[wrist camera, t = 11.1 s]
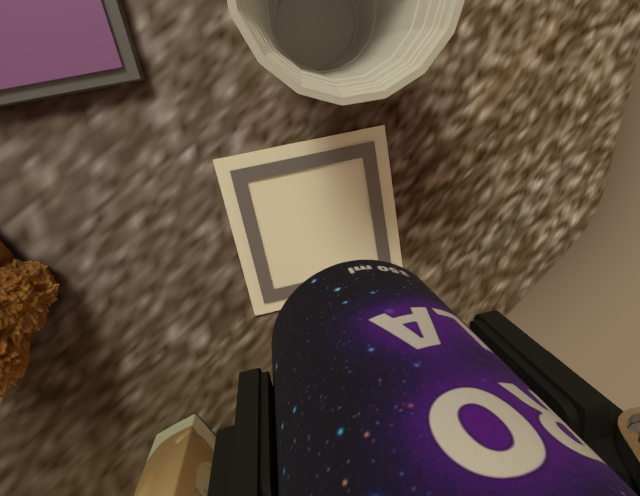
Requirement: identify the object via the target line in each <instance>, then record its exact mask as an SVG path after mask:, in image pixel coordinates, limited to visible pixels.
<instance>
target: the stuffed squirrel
mask: <svg viewBox="0 0 640 496" xmlns="http://www.w3.org/2000/svg"><path fill="white" fill-rule="evenodd" d="M47 267H48V266H45V265H43V264H41V263H40V262H38V261H33V260H31V261H24V262H22V261H21V260H19V259H17V260H16V259H14V257H13V254H12V253H11V251H10V250H9V249H8V248H7V247H6V246H5V245H4V244H3V243H2V241H1V240H0V406H1V405H2V400H3V396H4V395H5V391H6V388H9V389H10V387H11V386H12V385H13V386H17V385H16V381H18V379H20V378H22V377H23V376H25V375H24V372H25V371H26V370H27V367H28V362H29V352H30V341H29V340H28V339H29V338H30V336H31V335H32V334H33V332H37V331H39V330H40V328H41V327H43V325H44V324H45V323H46V321H47V317H46V316H47V314H48V312H49V310H48V307H49V306H51V304H52V303H53V302H55V301H56V300H58V299H56V298H57V297H56V296H57V295H58V294H57V292H58V286H59V283H58V284H56V281H55V279H54V275H53V274H51V273H50V272H49V270H48V269H47ZM17 378H18V379H17Z"/></svg>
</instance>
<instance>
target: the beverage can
mask: <svg viewBox="0 0 640 496" xmlns="http://www.w3.org/2000/svg"><path fill="white" fill-rule="evenodd" d="M272 370H273V396H274V422H275V448H276V474H277V496H638V495H637V494H636V493H635V492H634V491H633V490H632V489H631V488H630V487H629V486H628V485H627V484H626V483H625V482H624V481H623V480H622V479H621V478H620V477H619V476H618V475H617V474H616V473H615V472H614V471H613V470H612V469H611V468H610V467H609V466H608V465H607V464H606V463H605V462H604V461H603V460H602V459H601V458H600V457H599V456H598V455H597V454H596V453H595V452H594V451H593V450H592V449H591V448H590V447H589V446H588V445H587V444H586V443H585V442H584V441H583V440H582V439H581V438H579V437H578V436H577V435H576V434H575V433H574V432H573V431H572V430H571V429H570V428H569V427H568V426H567V425H566V424H565V423H564V422H563V421H562V420H561V419H560V418H559V417H558V416H557V415H556V414H555V413H554V412H553V411H552V410H551V409H550V408H549V407H548V406H547V405H546V404H545V403H544V402H543V401H542V400H541V399H540V398H539V397H538V396H537V395H536V394H535V393H534V392H533V391H532V390H531V389H530V388H529V387H528V386H527V385H526V384H525V383H524V382H523V381H522V380H521V379H520V378H519V377H518V376H517V375H516V374H515V373H514V372H513V371H512V370H511V369H510V368H509V367H508V366H507V365H506V364H505V363H504V362H503V361H502V360H501V359H500V358H499V357H498V356H497V355H496V354H495V353H494V352H493V351H492V350H491V349H490V348H489V347H488V346H487V345H486V344H485V343H484V342H483V341H482V340H481V339H480V338H479V337H478V336H477V335H476V334H475V333H474V332H473V331H472V330H471V329H470V328H469V327H468V326H467V325H466V324H465V323H464V322H463V321H462V320H461V319H460V318H459V317H458V316H457V315H456V314H455V313H454V312H453V311H452V310H451V309H450V308H449V307H448V306H447V305H446V304H445V303H444V302H443V301H442V300H441V299H440V298H439V297H438V296H437V295H436V294H435V293H434V292H432V291H431V290H430V289H429V288H428V287H427V286H426V285H425V284H424V283H423V282H422V281H421V280H420V279H419V278H418V277H417V276H416V275H414V274H413V273H411V272H410V271H408V270H406V269H404V268H402V267H400V266H398V265H395V264H392V263H388V262H384V261H379V260H353V261H347V262H343V263H339V264H336V265H333V266H330V267H328V268H326V269H323V270H321V271H320V272H318V273H316V274H314V275H313V276H311V277H310V278H308V279H307V280H306V281H304V282H303V283H302V284H301V285H300V286H299V287H298V288H297V289H296V290H295V291H294V292H293V293H292V294H291V295H290V296H289V298H288V299H287V300H286V302H285V303H284V305H283V307H282V308H281V310H280V312H279V314H278V317H277V319H276V322H275V325H274V329H273V334H272Z"/></svg>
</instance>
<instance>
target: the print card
mask: <svg viewBox="0 0 640 496" xmlns="http://www.w3.org/2000/svg"><path fill="white" fill-rule="evenodd" d="M213 163H214V166H215V170H216V174H217V177H218V181H219V185H220V188H221V192H222V196H223V199H224V203H225V207H226V210H227V214H228V218H229V221H230V225H231V229H232V232H233V236H234V240H235V243H236V247H237V251H238V254H239V258H240V262H241V265H242V269H243V273H244V276H245V280H246V284H247V287H248V291H249V295H250V299H251V302H252V306H253V310H254V313H255V316H257V315H261V314H265V313H270V312H274V311H278V310H281V308H282V307H283V305H284V303H285V302H286V300H287V299H288V298H289V296H290V295H291V294H292V293H293V292H294V291H295V290H296V289H297V288H298V287H299V286H300V285H301V284H302V283H303V282H304V281H306V280H307V279H308V278H310V277H311V276H313V275H314V274H316V273H318V272H320V271H321V270H323V269H326V268H328V267H330V266H333V265H336V264H339V263H343V262H347V261H353V260H379V261H384V262H388V263H392V264H395V265H398V266H400V267H402V268H403V265H402V257H401V249H400V242H399V234H398V226H397V218H396V210H395V203H394V195H393V187H392V179H391V171H390V163H389V156H388V148H387V140H386V132H385V125H381V126H376V127H371V128H366V129H361V130H356V131H351V132H346V133H341V134H337V135H332V136H327V137H322V138H317V139H312V140H307V141H302V142H297V143H292V144H288V145H283V146H278V147H273V148H268V149H263V150H258V151H253V152H248V153H243V154H238V155H234V156H229V157H224V158H219V159H214V160H213Z"/></svg>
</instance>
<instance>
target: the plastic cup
mask: <svg viewBox="0 0 640 496" xmlns="http://www.w3.org/2000/svg"><path fill="white" fill-rule="evenodd" d="M464 1H465V0H227V3H228V8H229V13H230V16H231V17H232V19H233V21H234V22H235V24H236V26H237V27H238V29H239V31H240V32H241V34H242V36H243V37H244V39H245V41H246V42H247V44H248V46H249V47H250V49H251V51H252V52H253V54H254V56H255V57H256V59H257V61H258V62H259V63H260V64H261V65H262V66H263V67H265V68H266V69H267V70H268V71H270V72H271V73H272V74H274V75H275V76H276V77H277V78H279V79H280V80H281V81H282V82H284V83H285V84H286V85H288V86H289V87H290V88H291V89H293V90H294V91H295V92H296V93H298V94H300V95H304V96H308V97H312V98H315V99H319V100H323V101H327V102H330V103H334V104H338V105H342V106H343V105H349V104H355V103H361V102H367V101H373V100H379V99H385V98H387V97H389V96H390V95H392V94H393V93H395V92H396V91H398V90H400V89H401V88H403V87H404V86H406V85H407V84H409V83H410V82H412V81H414V80H415V79H417V78H418V77H420V76H421V75H423V74H424V73H425V72H426V71H427V69H428V68H429V67H430V65H431V64H432V62H433V61H434V60H435V58H436V57H437V56H438V54H439V53H440V52H441V50H442V49H443V48H444V46H445V45H446V43H447V42H448V41H449V39H450V38H451V37H452V35H453V34H454V32H455V29H456V26H457V23H458V20H459V17H460V13H461V10H462V7H463V4H464Z"/></svg>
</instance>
